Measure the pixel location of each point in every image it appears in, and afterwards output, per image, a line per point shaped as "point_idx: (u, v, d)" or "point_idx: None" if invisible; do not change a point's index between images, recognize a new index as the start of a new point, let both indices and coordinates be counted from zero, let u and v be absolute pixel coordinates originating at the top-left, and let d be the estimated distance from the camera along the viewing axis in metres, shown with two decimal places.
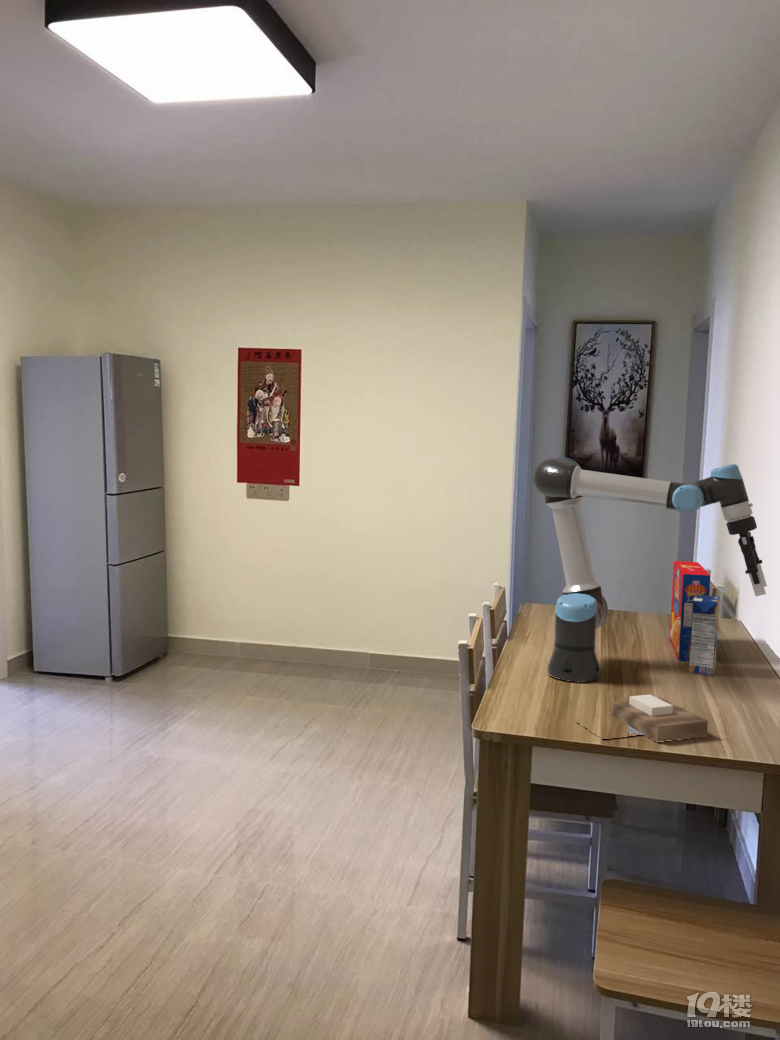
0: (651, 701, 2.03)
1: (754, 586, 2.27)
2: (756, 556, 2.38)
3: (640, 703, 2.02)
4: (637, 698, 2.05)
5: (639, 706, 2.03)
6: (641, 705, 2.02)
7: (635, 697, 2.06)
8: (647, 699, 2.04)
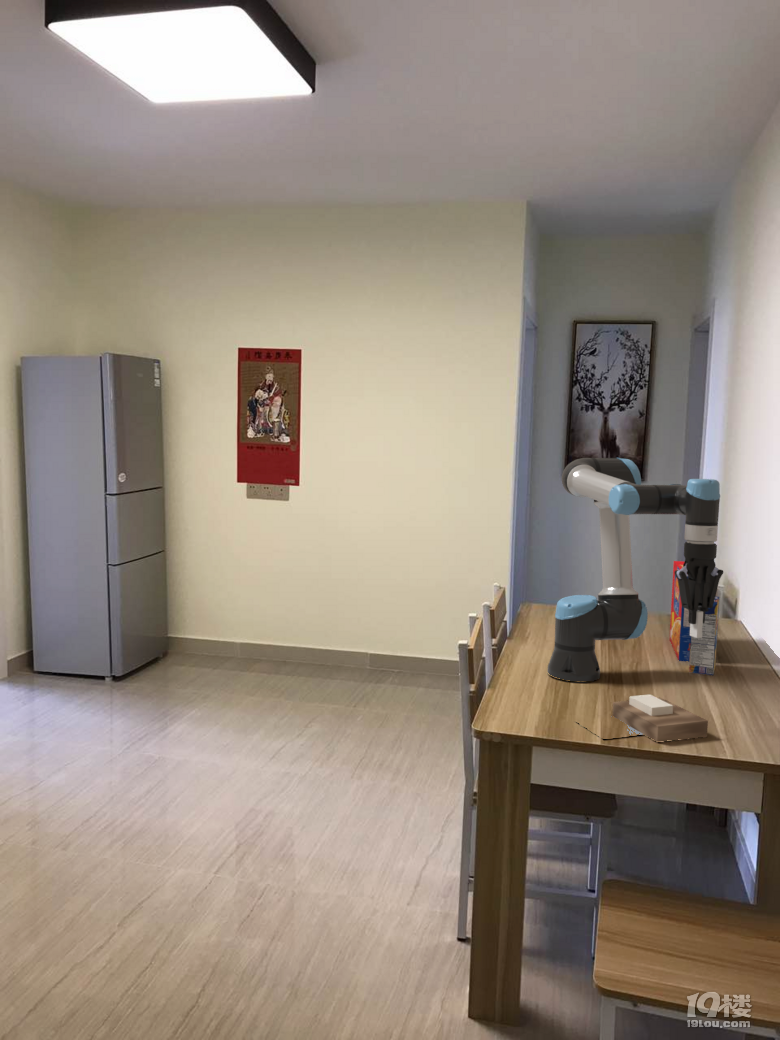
0: (651, 701, 2.03)
1: (691, 625, 2.06)
2: (702, 596, 2.03)
3: (640, 703, 2.02)
4: (637, 698, 2.05)
5: (639, 706, 2.03)
6: (641, 705, 2.02)
7: (635, 697, 2.06)
8: (647, 699, 2.04)
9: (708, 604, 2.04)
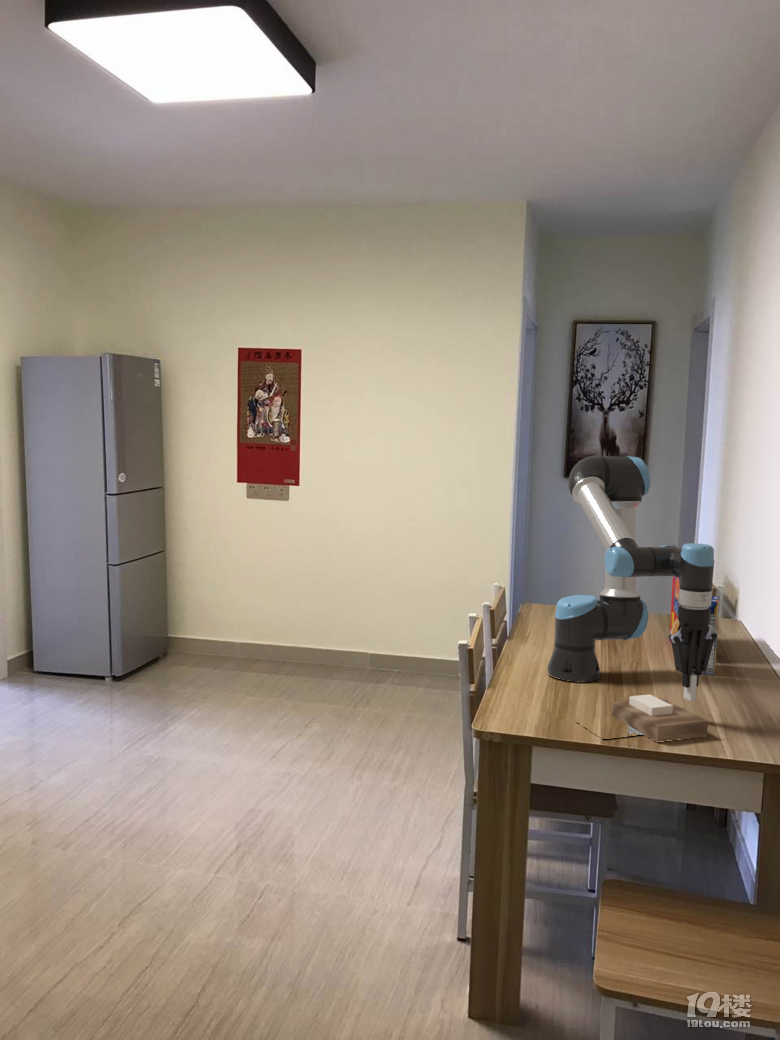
0: (651, 701, 2.03)
1: (685, 688, 2.07)
2: (696, 660, 2.05)
3: (640, 703, 2.02)
4: (637, 698, 2.05)
5: (639, 706, 2.03)
6: (641, 705, 2.02)
7: (635, 697, 2.06)
8: (647, 699, 2.04)
9: (702, 667, 2.06)
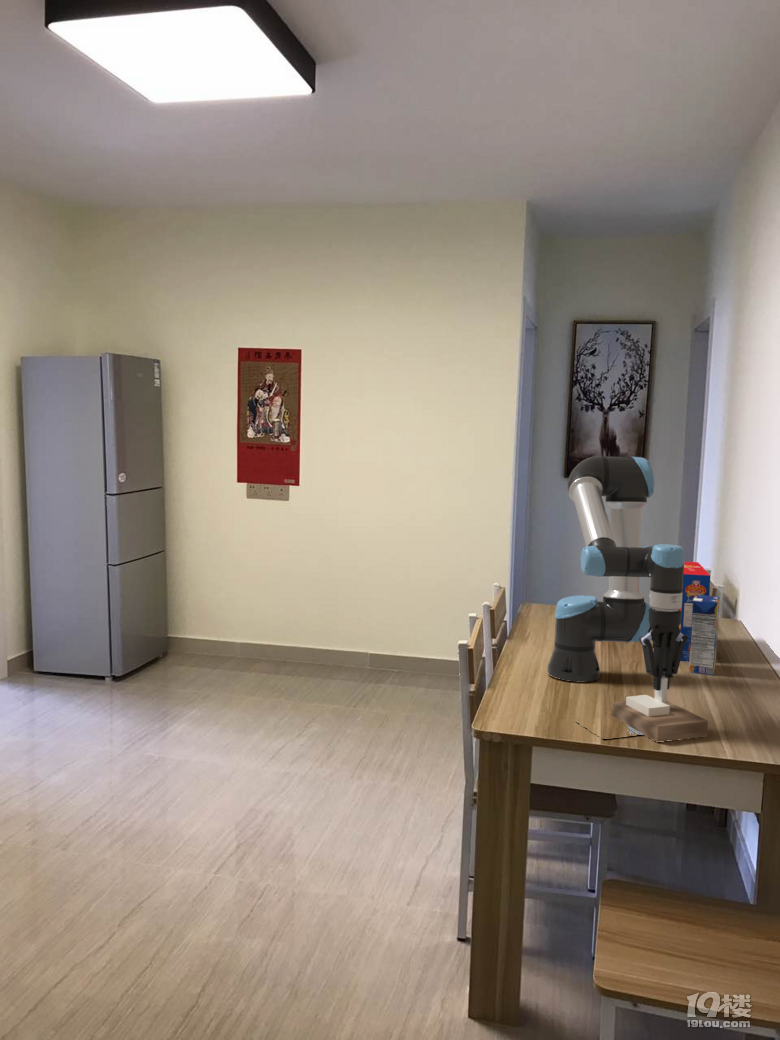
0: (648, 701, 2.03)
1: (656, 690, 2.05)
2: (667, 662, 2.02)
3: (637, 703, 2.02)
4: (634, 698, 2.05)
5: (636, 706, 2.02)
6: (638, 705, 2.02)
7: (632, 697, 2.06)
8: (644, 699, 2.04)
9: (673, 670, 2.03)
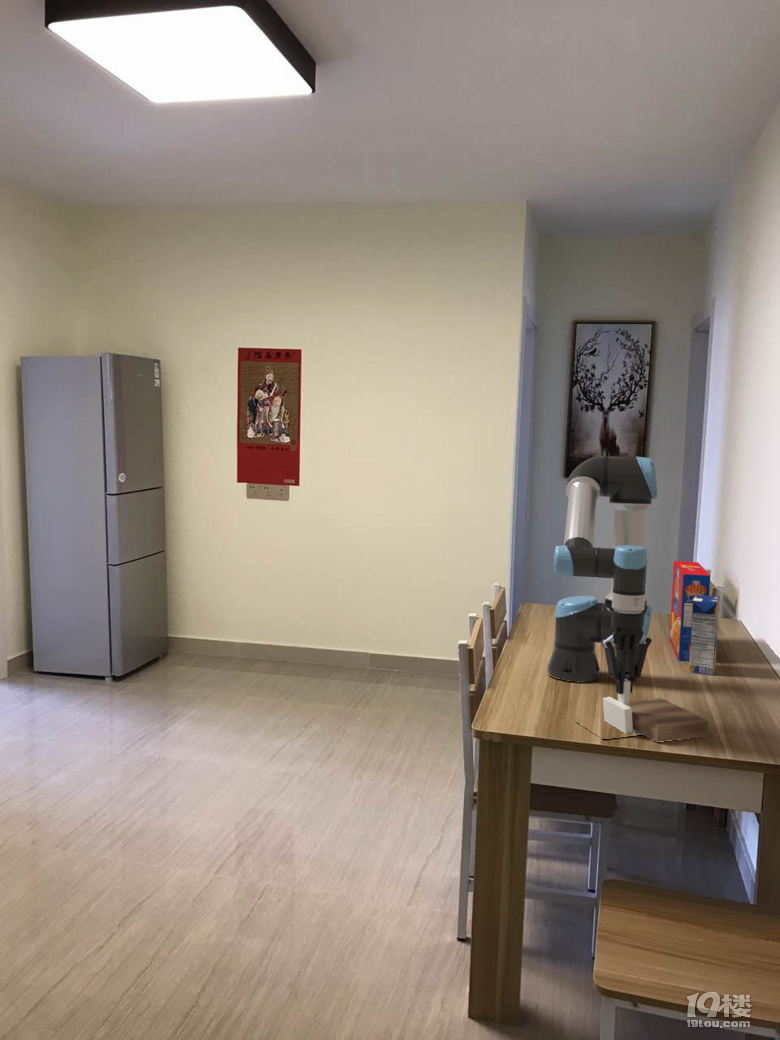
0: (615, 716, 2.00)
1: (619, 694, 2.01)
2: (630, 665, 1.99)
3: None
4: (608, 720, 2.03)
5: None
6: None
7: (606, 718, 2.04)
8: (611, 714, 2.01)
9: (636, 673, 2.00)
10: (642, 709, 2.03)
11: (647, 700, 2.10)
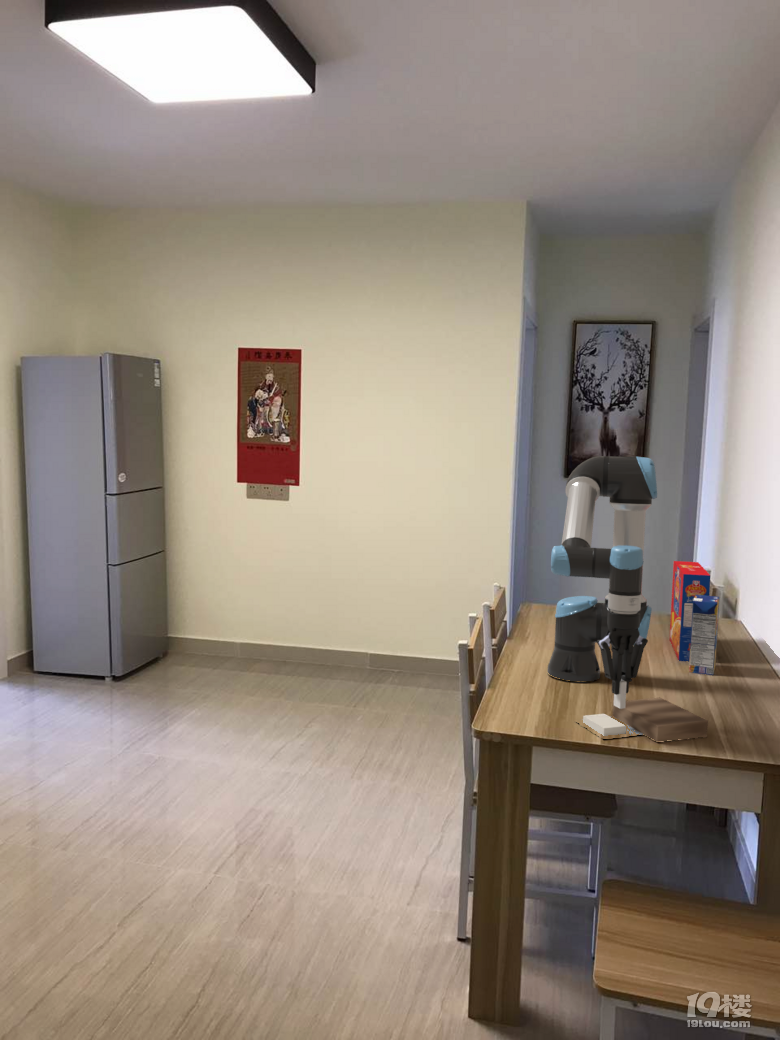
0: None
1: (615, 694, 2.01)
2: (626, 666, 1.99)
3: None
4: None
5: None
6: None
7: None
8: None
9: (632, 674, 2.00)
10: (642, 709, 2.03)
11: (647, 700, 2.10)
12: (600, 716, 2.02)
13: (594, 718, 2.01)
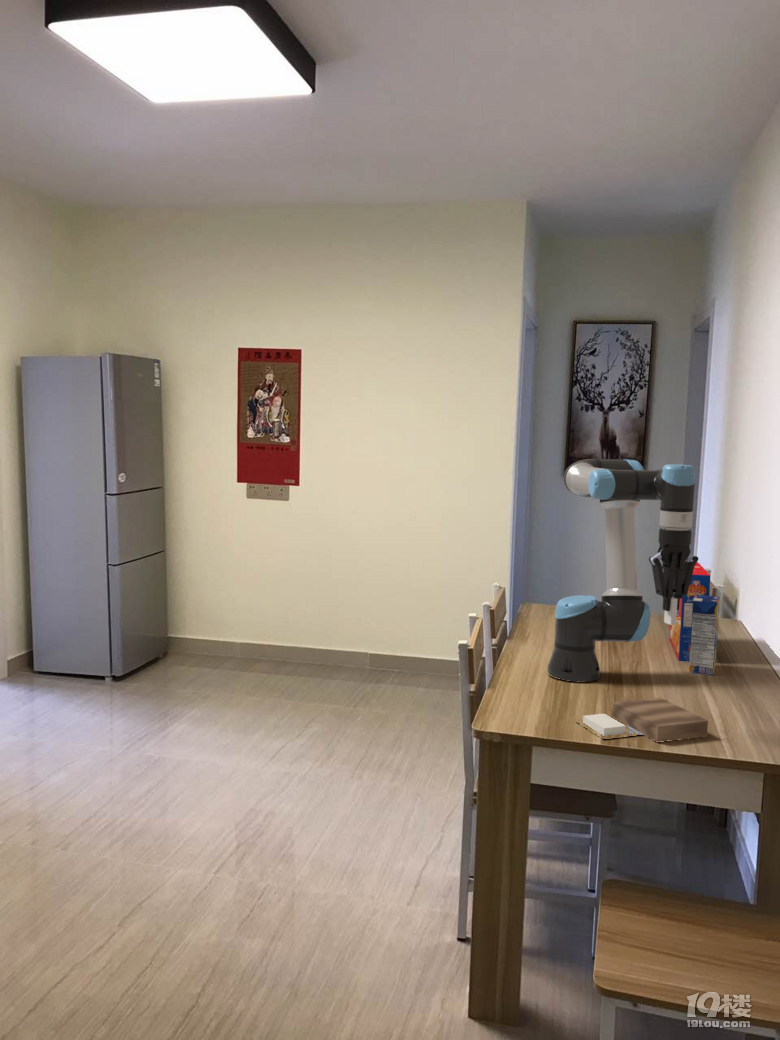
0: None
1: (665, 612, 2.04)
2: (677, 583, 2.02)
3: None
4: None
5: None
6: None
7: None
8: None
9: (683, 591, 2.03)
10: (642, 709, 2.03)
11: (647, 700, 2.10)
12: (600, 716, 2.02)
13: (594, 718, 2.01)
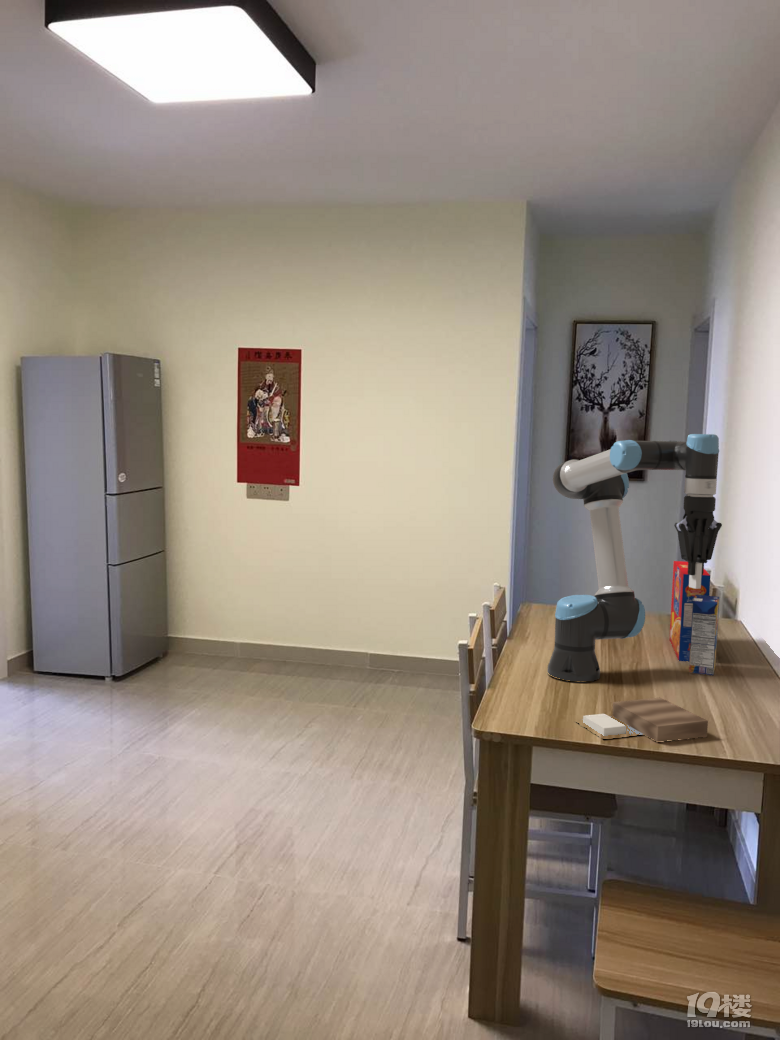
0: None
1: (690, 576, 2.12)
2: (701, 548, 2.09)
3: None
4: None
5: None
6: None
7: None
8: None
9: (707, 556, 2.10)
10: (642, 709, 2.03)
11: (647, 700, 2.10)
12: (600, 716, 2.02)
13: (594, 718, 2.01)
